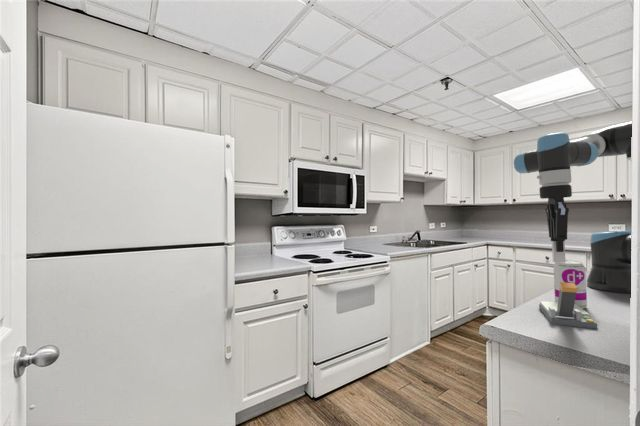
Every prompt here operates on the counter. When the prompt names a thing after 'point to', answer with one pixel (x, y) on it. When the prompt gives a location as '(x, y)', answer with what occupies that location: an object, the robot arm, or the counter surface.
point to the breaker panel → (579, 320)
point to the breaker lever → (566, 300)
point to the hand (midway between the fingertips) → (559, 261)
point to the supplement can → (571, 280)
